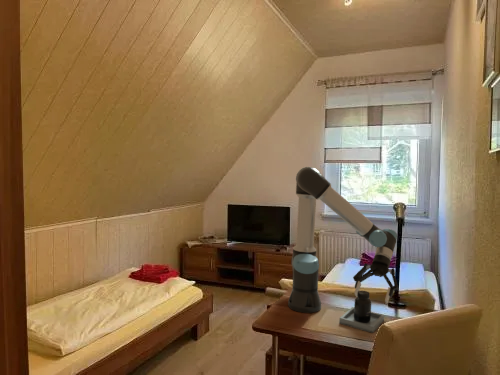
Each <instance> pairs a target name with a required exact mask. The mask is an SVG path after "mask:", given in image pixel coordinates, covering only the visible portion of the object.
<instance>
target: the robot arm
mask: <svg viewBox="0 0 500 375" xmlns="http://www.w3.org/2000/svg"><path fill="white" fill-rule="evenodd" d="M296 173H297V174H296V176H295V181H296V185H295V186H296V187H295V195H297V197H298V206H297V221H296V222H297V225H296V226H297V227H296V240H295V241H296V242H295V243H296V244H295V245H294V246H293V247H292V258H291V267H292V290H291V291H290V295H289V298H288V302H287V304H288V307H289V309H291V310H292V311H295V312H298V313H304V314H305V313H306V314H309V313H310V314H311V313H316V312H319V311H321V309H322V302H321V299H320V298H321V297H320V295H319V268H320V264H319V259H318V257H317V248H316V247H315V246H314V245H315V243H314V241H315V230H316V229H315V228H316V227H315V226H316V210H317V200H318V201H319V200H320V201H321V202H323V203H324V204H325V205H326V206H327V207H328V208H330V210H331V211H333V212H334V213H335V214H336V215H337V216H339V217H340V218H341V219H342V220H343V221H344V222H345V223H346V224H348V225H349V226H350V227H351V228H352V229H354V230H355V233H356V234H357V235H359V236H360V237H362V238H364V239H365V240H366V241H367V242H368V243H370V245H372V247H375V248H376V250H375V253H374V256H373V259H372V263H371V264H368V263H364V265H363V267H362V268H361V269H359V271H357V273H356V274H355V275H353V277H352V278H353V281H354V283H355V284H354V288H355V290H354V296H355V297H358V296H357V294H358V291H361V286H362V282H364V281H365V280H367V279H369V278H370V277H373V276H374V277H378V278H382V277H383V278H384V280H385V281H386V283H387V285H388V286H389V287H388V288H387V292H386V294H385V299H384V302H385V304H387V305H388V304H389V301H390V297H391V298H392V297H393V295H394V291H399V290H400V288H399V284H398V281H397V279H396V270H395V268H393V267H392V268H390V264H391V262H392V257H393V255H394V251H395V246H396V244H397V242H398V241H397V239H398V233H397V232H396V231H395V230H394V229H392V228H391V229H390V228H384V229H380V228H379V227H378V226H377V225H375V224H374V222H372V221H371V220H370V219H368V217H367V216H365V215H364V214H363V213H362V212H361V211H359V210H358V209H357V208H356V207H355V206H354V205H353V204H351V203H350V201H348V200H347V199H346V198H344V197H343V196H342V195H341V194H340V193H339V192H338V191H337V190H335V189H334V188H333V187H332V183H330V181H328V179H326V177H325V176H324V175H323V174H322V173H321V172H320V170H318V169H317V168H315V167H312V166H306V167H302V168H301V169H299V171H298V172H296ZM387 274H390V275H391V276H392V280H393V281H392V282H393V283H392V282H391V280H390V279H389V277H388V275H387ZM393 284H394V285H393Z"/></svg>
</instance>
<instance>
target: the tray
mask: <svg viewBox="0 0 500 375" xmlns="http://www.w3.org/2000/svg"><path fill="white" fill-rule="evenodd" d="M384 321H385V314H381V313H379V312H378V313H377V312H375V311H371V319H370V322H368V323H361V322H358V321H356V320H355V319H354V306H351V308H350V309H348V310H347V311H346V312H345V313H343V314H342V315H341V316H340V317H339V321H338V322H339V324H341V325H344V326H347V327H349V328H354V329H357V330H361V331H364V332H367V333H371V334H374V333H375V331H376V330H377V329H378V328H379V327H380V326H381V325H382V323H384Z"/></svg>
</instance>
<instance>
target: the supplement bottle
mask: <svg viewBox="0 0 500 375" xmlns="http://www.w3.org/2000/svg"><path fill="white" fill-rule="evenodd" d="M353 307H354V319H355V320H356V321H358V322H361V323H368V322H370V319H371V312H372V300H371V298H370V292H369V291H367V290H359V291H358V294H357V296H355V298H354V305H353Z"/></svg>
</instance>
